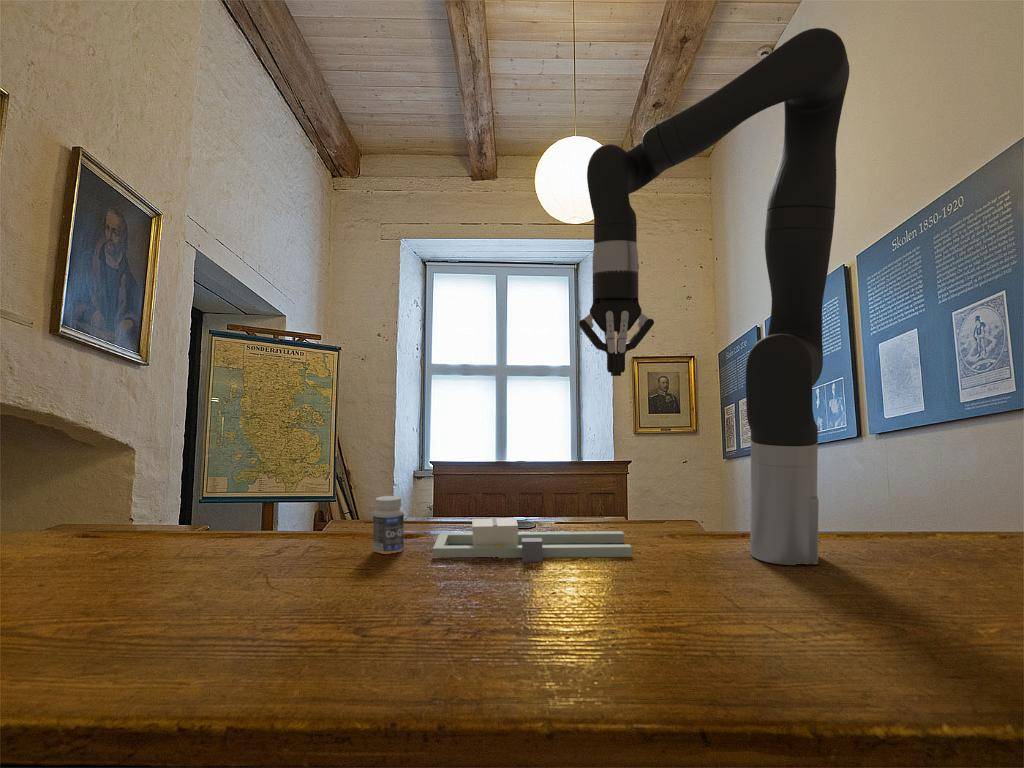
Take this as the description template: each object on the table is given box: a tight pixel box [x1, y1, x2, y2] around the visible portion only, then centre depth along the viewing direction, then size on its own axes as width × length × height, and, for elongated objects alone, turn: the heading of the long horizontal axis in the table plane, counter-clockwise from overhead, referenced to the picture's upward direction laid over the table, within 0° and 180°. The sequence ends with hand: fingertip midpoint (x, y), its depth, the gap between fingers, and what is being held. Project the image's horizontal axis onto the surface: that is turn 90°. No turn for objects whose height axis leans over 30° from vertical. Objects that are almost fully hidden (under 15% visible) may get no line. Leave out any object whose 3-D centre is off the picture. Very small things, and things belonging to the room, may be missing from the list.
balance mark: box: [495, 544, 503, 548], centre depth 107 cm, size 1×9×1 cm, turn 179°
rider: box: [471, 517, 519, 545], centre depth 107 cm, size 7×5×5 cm
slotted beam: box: [432, 530, 633, 563], centre depth 106 cm, size 30×11×3 cm, turn 89°
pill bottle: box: [372, 495, 405, 552], centre depth 107 cm, size 5×5×8 cm
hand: (615, 375), depth 113 cm, fingers closed
